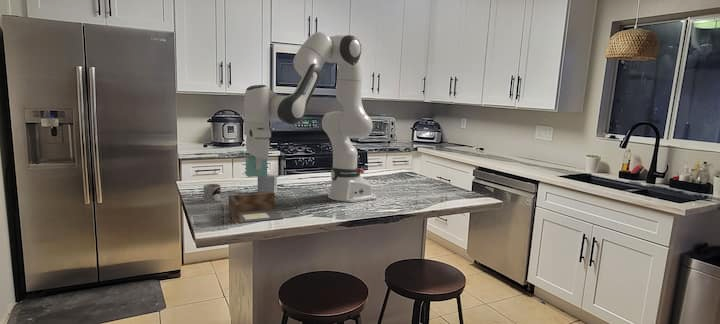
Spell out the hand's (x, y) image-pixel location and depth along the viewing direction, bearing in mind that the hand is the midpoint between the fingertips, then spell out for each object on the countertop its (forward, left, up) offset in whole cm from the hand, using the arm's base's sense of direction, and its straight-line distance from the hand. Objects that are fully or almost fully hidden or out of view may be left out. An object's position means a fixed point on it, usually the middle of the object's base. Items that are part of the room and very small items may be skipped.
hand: (256, 167), depth 153 cm
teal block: (0, 0, -3) cm, 3 cm away
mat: (-1, -1, -19) cm, 19 cm away
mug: (+11, -29, -19) cm, 37 cm away
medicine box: (-13, -34, -19) cm, 41 cm away
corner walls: (0, -2, -19) cm, 19 cm away
